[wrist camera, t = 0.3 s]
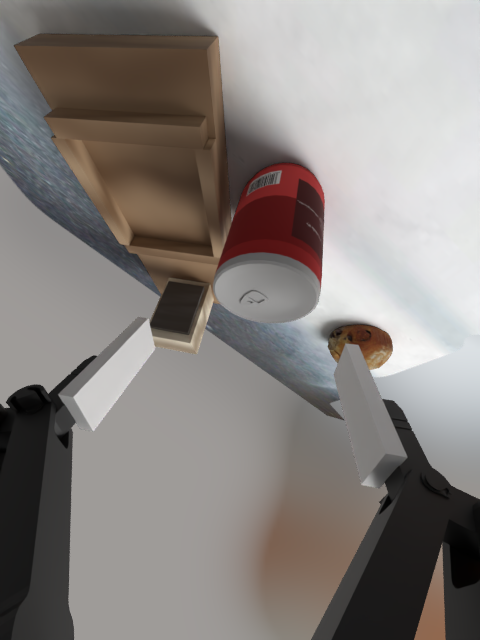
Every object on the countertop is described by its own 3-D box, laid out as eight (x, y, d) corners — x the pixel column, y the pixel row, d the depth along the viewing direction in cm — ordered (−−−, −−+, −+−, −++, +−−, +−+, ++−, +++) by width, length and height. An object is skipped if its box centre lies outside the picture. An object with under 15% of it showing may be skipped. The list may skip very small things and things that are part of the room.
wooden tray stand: (39, 33, 14) (-133, 111, 9) (218, 36, 13) (136, 130, 8) (166, 282, 37) (138, 345, 32) (236, 293, 36) (219, 360, 31)
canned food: (230, 218, 24) (201, 303, 19) (264, 138, 17) (232, 239, 12) (292, 247, 26) (280, 333, 21) (344, 185, 19) (347, 291, 14)
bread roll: (338, 331, 47) (347, 369, 46) (313, 331, 40) (322, 376, 39) (392, 320, 40) (404, 365, 39) (373, 319, 33) (386, 373, 32)
